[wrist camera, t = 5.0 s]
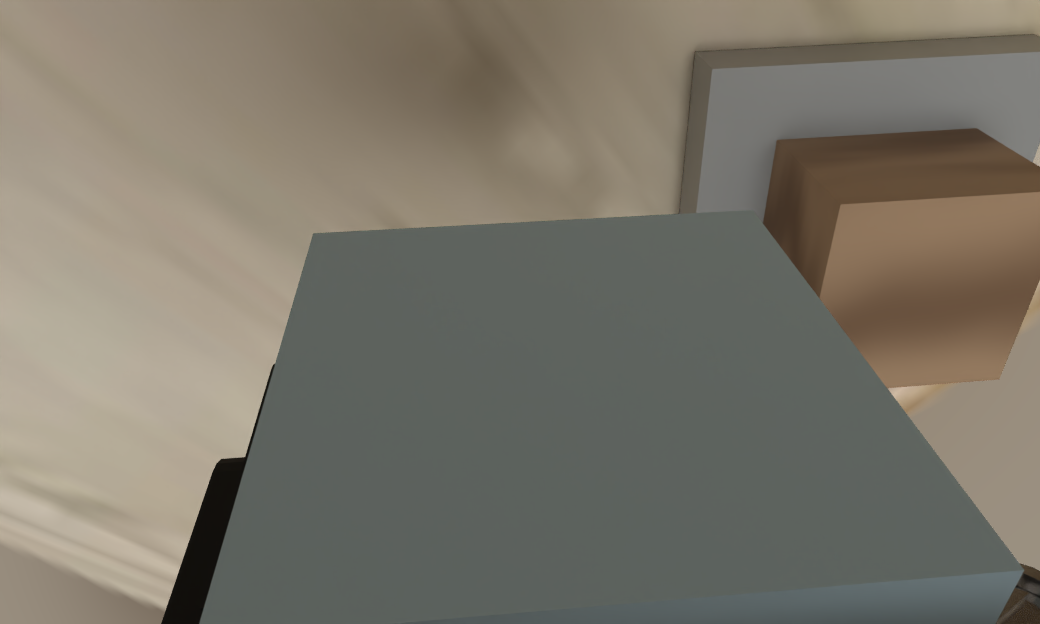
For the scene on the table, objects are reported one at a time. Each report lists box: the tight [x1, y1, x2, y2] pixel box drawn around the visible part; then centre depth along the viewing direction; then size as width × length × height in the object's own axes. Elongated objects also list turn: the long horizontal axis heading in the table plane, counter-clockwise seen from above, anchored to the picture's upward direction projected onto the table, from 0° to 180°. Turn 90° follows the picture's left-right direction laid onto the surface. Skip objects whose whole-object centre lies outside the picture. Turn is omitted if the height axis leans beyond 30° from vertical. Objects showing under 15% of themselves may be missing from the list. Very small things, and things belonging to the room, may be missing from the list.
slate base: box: [679, 34, 1040, 223], centre depth 29 cm, size 12×12×2 cm
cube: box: [199, 210, 1024, 624], centre depth 10 cm, size 6×6×6 cm
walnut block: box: [763, 128, 1040, 388], centre depth 26 cm, size 7×7×5 cm
